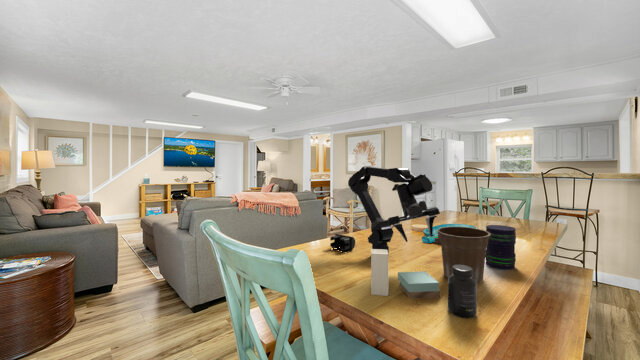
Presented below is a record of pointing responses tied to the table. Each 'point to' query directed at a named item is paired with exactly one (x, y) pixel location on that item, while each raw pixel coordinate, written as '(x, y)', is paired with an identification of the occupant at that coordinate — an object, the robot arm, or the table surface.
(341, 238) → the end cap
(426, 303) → the table surface
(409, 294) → the tower base
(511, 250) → the storage jar
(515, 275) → the table surface
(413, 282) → the tower top
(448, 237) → the plant pot
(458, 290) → the supplement bottle
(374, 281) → the cream block
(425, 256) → the table surface
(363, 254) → the table surface
